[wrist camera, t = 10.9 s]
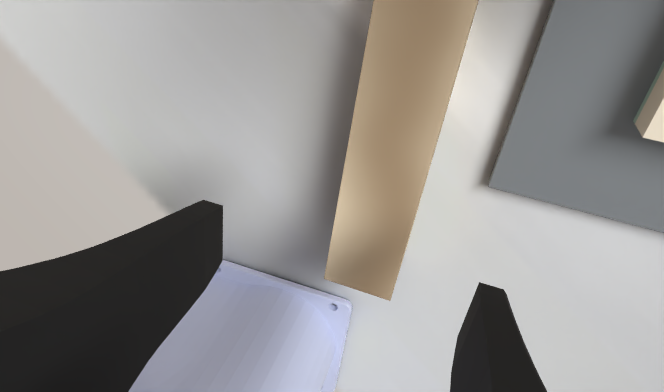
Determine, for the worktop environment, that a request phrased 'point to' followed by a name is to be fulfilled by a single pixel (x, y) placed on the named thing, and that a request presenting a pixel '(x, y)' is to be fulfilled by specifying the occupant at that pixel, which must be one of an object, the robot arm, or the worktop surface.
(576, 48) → the mat
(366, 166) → the tan wooden plank
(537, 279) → the worktop surface
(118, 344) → the robot arm
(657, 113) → the tile
